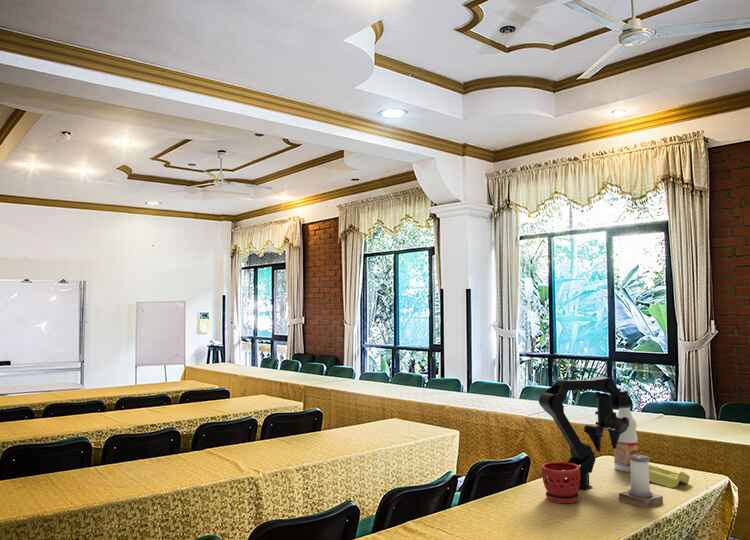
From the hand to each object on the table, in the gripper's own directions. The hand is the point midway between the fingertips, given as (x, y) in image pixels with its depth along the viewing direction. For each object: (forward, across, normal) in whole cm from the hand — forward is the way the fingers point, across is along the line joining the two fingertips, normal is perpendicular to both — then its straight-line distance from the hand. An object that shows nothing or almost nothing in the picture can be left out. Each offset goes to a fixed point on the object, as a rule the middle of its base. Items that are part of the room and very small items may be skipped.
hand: (606, 450), depth 228 cm
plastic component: (+14, +22, -8) cm, 27 cm away
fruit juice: (+13, +25, +10) cm, 30 cm away
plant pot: (+13, -30, -4) cm, 33 cm away
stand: (+13, -8, -20) cm, 25 cm away
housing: (+10, -8, -20) cm, 24 cm away
